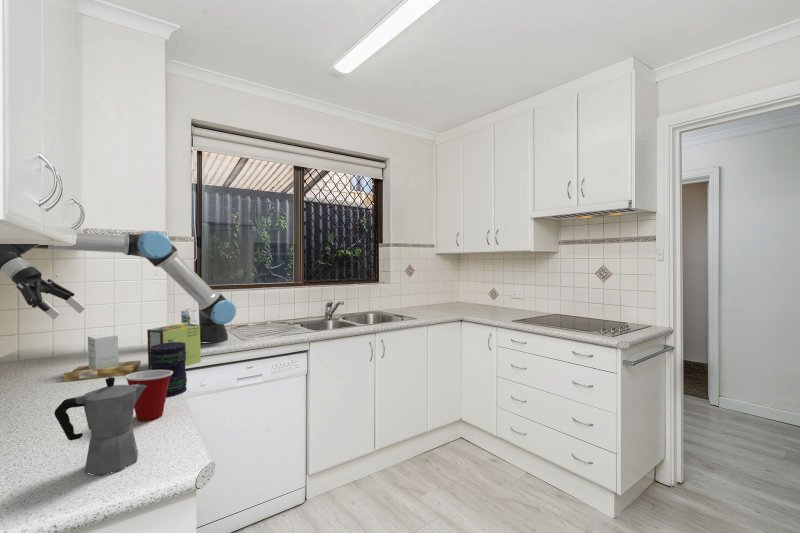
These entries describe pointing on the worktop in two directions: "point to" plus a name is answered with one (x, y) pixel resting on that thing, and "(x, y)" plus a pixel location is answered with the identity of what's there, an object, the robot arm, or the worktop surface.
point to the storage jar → (171, 364)
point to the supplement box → (103, 351)
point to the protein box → (177, 340)
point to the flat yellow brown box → (101, 371)
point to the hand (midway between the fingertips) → (70, 313)
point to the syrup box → (189, 316)
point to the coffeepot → (105, 425)
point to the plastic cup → (150, 393)
